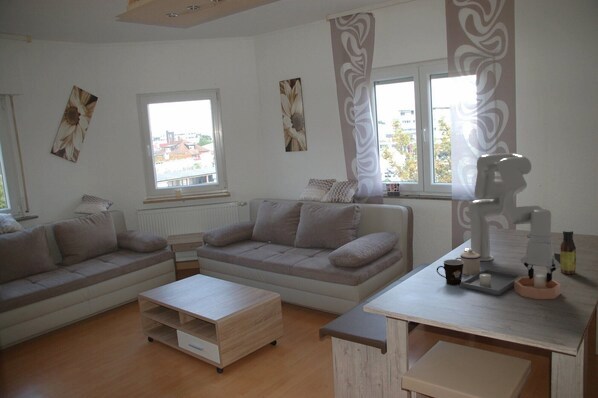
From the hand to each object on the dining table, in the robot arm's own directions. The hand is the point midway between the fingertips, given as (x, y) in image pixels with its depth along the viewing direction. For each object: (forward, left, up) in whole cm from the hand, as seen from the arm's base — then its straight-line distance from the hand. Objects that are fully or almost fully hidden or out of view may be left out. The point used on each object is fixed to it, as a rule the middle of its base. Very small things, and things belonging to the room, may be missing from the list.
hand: (539, 279), depth 190 cm
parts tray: (-18, -5, -5) cm, 20 cm away
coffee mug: (-33, -14, -5) cm, 37 cm away
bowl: (0, -3, -5) cm, 5 cm away
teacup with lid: (-34, +4, -5) cm, 35 cm away
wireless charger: (-10, +45, -5) cm, 47 cm away
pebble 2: (0, 0, -4) cm, 4 cm away
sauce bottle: (+2, +30, -5) cm, 30 cm away
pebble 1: (-18, -11, -4) cm, 22 cm away
